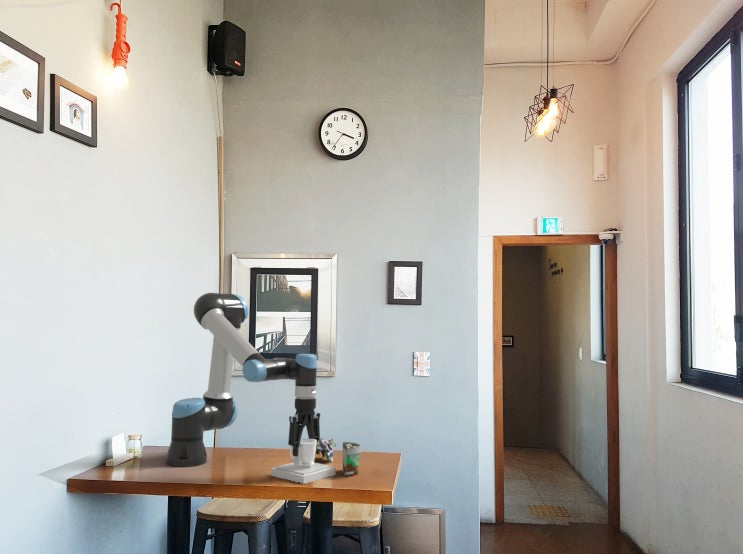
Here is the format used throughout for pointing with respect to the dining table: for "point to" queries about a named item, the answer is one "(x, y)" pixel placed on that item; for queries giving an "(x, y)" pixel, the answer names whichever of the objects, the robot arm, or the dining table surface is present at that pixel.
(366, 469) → the dining table surface
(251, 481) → the dining table surface
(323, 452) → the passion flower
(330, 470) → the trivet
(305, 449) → the cup
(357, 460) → the food container
